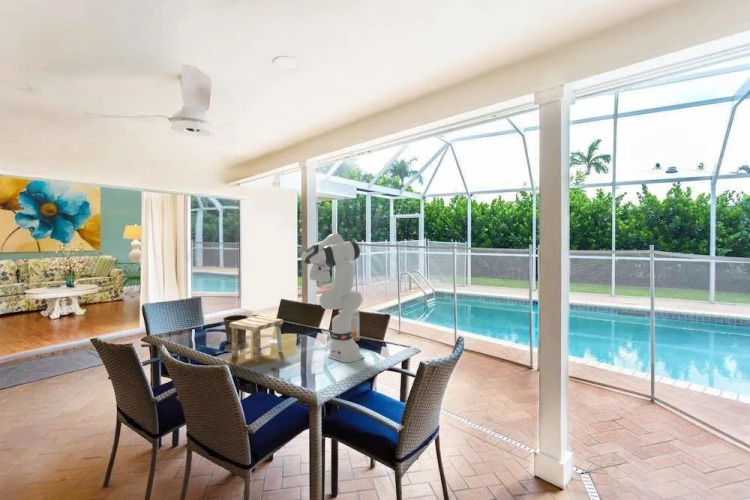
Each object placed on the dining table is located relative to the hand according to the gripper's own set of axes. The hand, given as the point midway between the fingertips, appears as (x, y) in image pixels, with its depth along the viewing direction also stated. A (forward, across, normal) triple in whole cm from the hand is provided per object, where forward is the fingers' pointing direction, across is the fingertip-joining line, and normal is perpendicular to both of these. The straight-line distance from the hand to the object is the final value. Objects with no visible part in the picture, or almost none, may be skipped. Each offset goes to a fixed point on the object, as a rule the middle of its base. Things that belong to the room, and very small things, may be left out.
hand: (319, 287), depth 258 cm
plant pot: (+37, -38, -44) cm, 69 cm away
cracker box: (+37, +12, +16) cm, 42 cm away
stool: (+37, 0, -45) cm, 58 cm away
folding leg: (+37, +5, -32) cm, 49 cm away
